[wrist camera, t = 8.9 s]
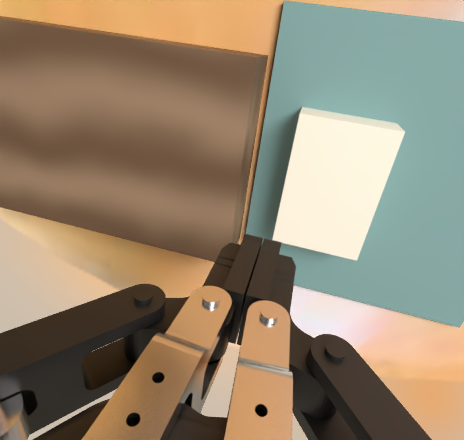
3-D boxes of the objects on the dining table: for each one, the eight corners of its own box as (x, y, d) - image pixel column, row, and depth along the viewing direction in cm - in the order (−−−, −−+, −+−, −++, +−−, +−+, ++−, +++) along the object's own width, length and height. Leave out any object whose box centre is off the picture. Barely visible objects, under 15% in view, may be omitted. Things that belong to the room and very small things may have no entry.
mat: (284, 1, 20) (284, 0, 20) (632, 42, 17) (638, 42, 17) (240, 268, 30) (239, 270, 29) (457, 323, 27) (459, 327, 26)
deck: (3, 16, 25) (-49, 11, 21) (268, 55, 22) (256, 57, 18) (34, 189, 32) (-2, 206, 28) (239, 238, 28) (227, 265, 25)
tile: (405, 132, 19) (397, 123, 21) (299, 113, 20) (302, 106, 22) (356, 260, 23) (354, 242, 25) (272, 240, 24) (276, 224, 26)
